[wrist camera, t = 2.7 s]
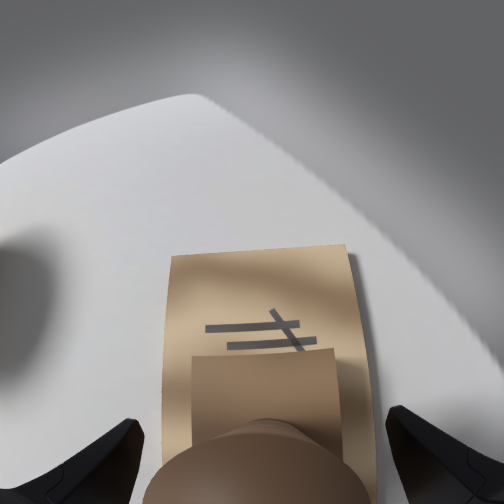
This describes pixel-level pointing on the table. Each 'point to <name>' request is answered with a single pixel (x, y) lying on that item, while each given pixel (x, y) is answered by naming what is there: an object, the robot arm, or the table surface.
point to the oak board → (268, 332)
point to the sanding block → (262, 435)
